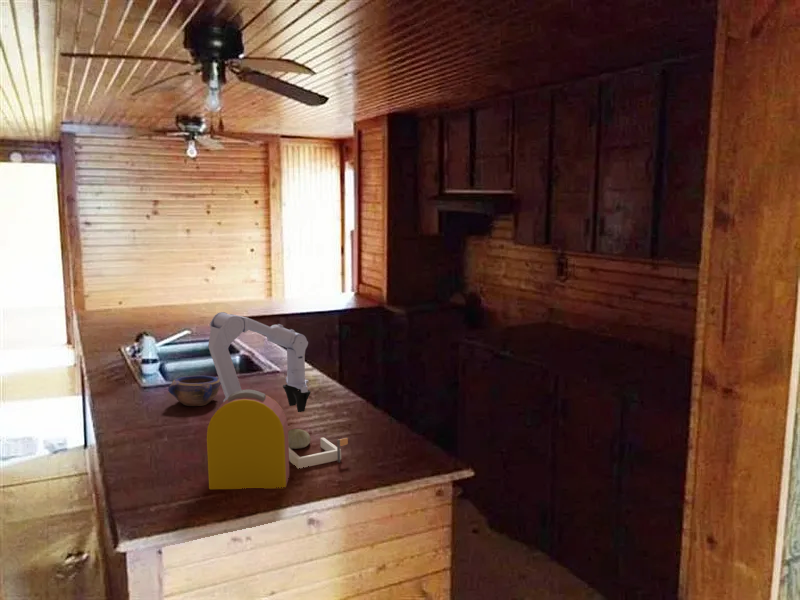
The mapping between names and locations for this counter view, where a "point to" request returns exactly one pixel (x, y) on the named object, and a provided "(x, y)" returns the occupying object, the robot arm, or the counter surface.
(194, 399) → the bowl
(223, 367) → the robot arm
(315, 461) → the shallow white tray
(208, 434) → the yellow arched block
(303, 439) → the sea urchin shell
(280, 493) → the counter surface
